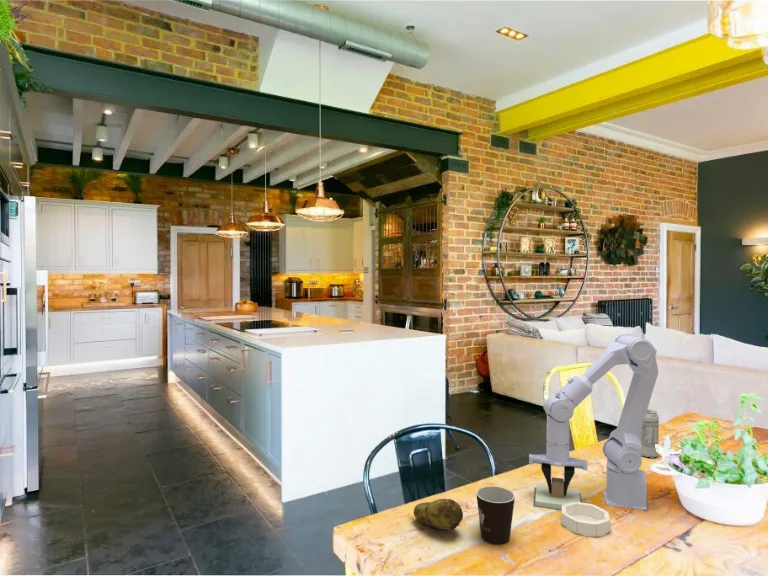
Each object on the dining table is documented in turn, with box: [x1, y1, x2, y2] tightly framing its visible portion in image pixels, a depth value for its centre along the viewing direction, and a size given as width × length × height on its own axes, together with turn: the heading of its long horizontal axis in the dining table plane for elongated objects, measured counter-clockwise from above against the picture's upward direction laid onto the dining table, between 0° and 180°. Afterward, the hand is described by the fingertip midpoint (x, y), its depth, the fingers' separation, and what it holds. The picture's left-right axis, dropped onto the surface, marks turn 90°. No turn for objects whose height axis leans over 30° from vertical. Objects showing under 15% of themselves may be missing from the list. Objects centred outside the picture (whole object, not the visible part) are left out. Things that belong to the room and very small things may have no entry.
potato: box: [413, 498, 464, 531], centre depth 116 cm, size 8×13×8 cm, turn 26°
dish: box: [561, 502, 611, 538], centre depth 117 cm, size 10×10×3 cm
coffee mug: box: [475, 485, 516, 546], centre depth 114 cm, size 12×9×10 cm
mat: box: [532, 486, 583, 512], centre depth 130 cm, size 12×12×1 cm
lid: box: [535, 476, 580, 509], centre depth 130 cm, size 11×11×5 cm
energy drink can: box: [639, 408, 660, 459], centre depth 162 cm, size 6×6×15 cm
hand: (557, 492), depth 130 cm, fingers closed on lid, 3 cm apart
